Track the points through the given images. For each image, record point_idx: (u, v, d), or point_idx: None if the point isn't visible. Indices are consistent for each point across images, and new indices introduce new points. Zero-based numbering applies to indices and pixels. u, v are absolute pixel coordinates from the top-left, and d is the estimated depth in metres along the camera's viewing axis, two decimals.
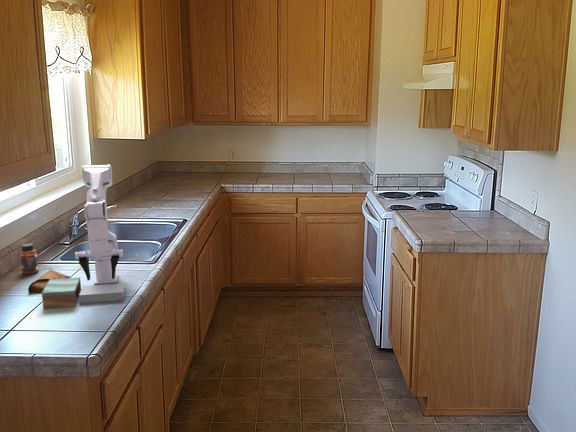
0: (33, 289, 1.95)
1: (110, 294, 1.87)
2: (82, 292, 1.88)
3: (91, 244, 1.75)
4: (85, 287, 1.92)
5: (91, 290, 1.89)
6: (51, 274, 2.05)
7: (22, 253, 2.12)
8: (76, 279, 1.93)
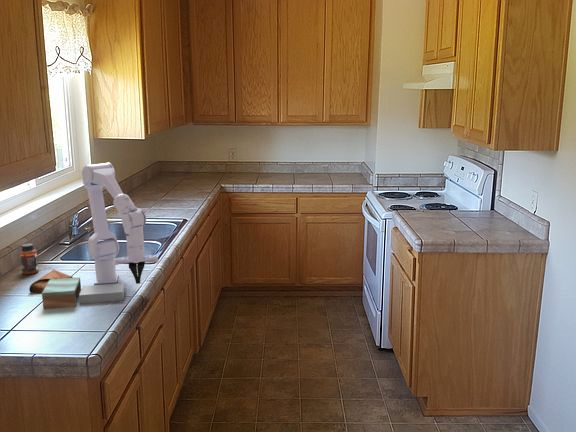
0: (34, 289, 1.95)
1: (110, 294, 1.87)
2: (82, 292, 1.88)
3: (130, 251, 1.88)
4: (85, 287, 1.92)
5: (91, 290, 1.89)
6: (54, 274, 2.05)
7: (22, 253, 2.12)
8: (76, 279, 1.93)
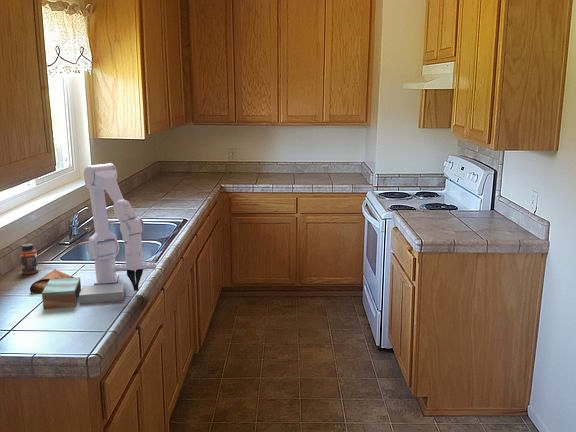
0: (34, 289, 1.95)
1: (110, 294, 1.87)
2: (82, 292, 1.88)
3: (128, 258, 1.88)
4: (85, 287, 1.92)
5: (91, 290, 1.89)
6: (54, 274, 2.04)
7: (22, 253, 2.12)
8: (76, 279, 1.93)
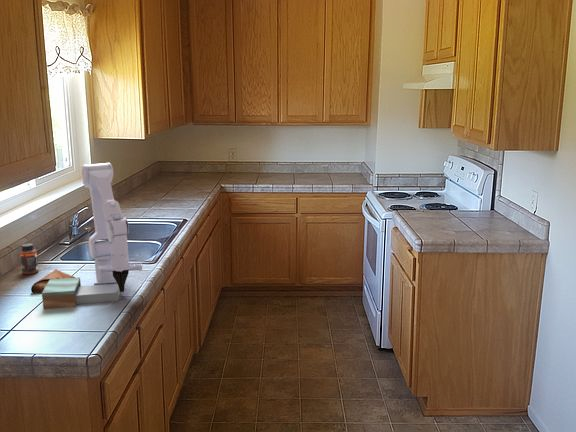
0: (35, 289, 1.95)
1: (105, 294, 1.87)
2: (77, 292, 1.87)
3: (113, 259, 1.87)
4: (80, 287, 1.92)
5: (86, 290, 1.89)
6: (56, 274, 2.04)
7: (22, 253, 2.12)
8: (76, 279, 1.93)
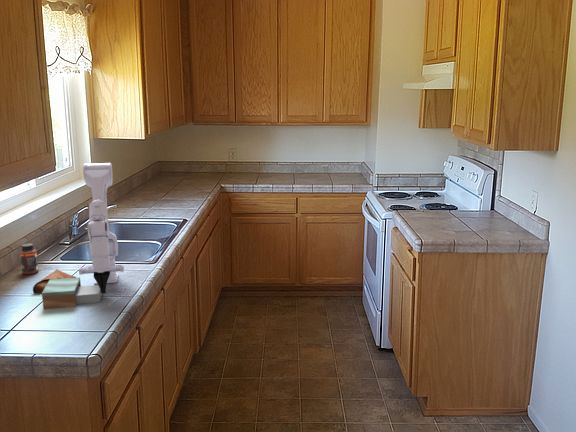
0: (37, 289, 1.95)
1: (86, 295, 1.86)
2: None
3: (94, 261, 1.86)
4: None
5: None
6: (57, 275, 2.04)
7: (22, 253, 2.12)
8: (76, 279, 1.93)
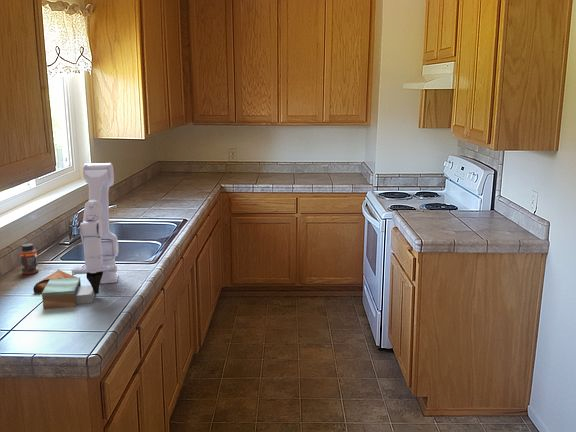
0: (38, 289, 1.95)
1: (79, 296, 1.85)
2: None
3: (87, 261, 1.85)
4: None
5: None
6: (58, 275, 2.04)
7: (22, 253, 2.12)
8: (76, 279, 1.93)
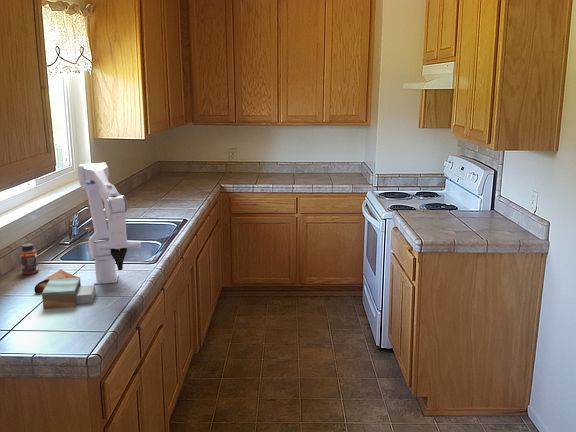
0: (39, 289, 1.95)
1: (79, 296, 1.85)
2: None
3: (111, 237, 1.86)
4: None
5: None
6: (60, 275, 2.04)
7: (22, 253, 2.12)
8: (76, 279, 1.93)
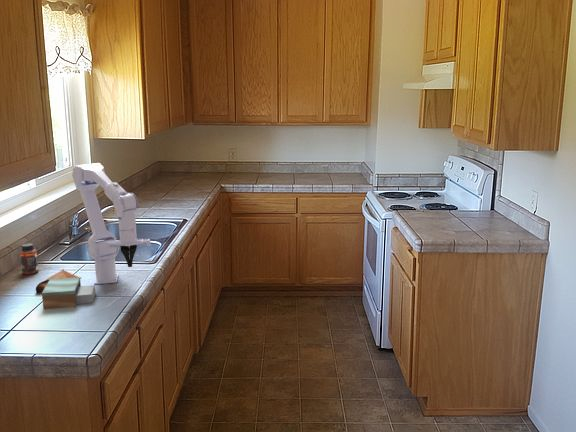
0: (40, 289, 1.95)
1: (79, 296, 1.85)
2: None
3: (122, 234, 1.89)
4: None
5: None
6: (61, 275, 2.04)
7: (22, 253, 2.12)
8: (76, 279, 1.93)
